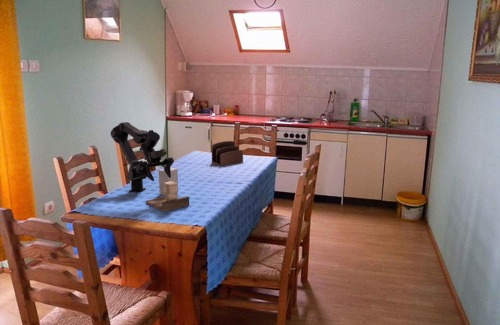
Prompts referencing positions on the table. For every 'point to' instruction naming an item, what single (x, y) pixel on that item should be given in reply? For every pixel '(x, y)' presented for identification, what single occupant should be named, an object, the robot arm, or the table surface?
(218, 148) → the letter holder
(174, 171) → the small box
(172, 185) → the beige rectangular block
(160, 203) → the brown wooden tray
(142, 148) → the robot arm
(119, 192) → the table surface
